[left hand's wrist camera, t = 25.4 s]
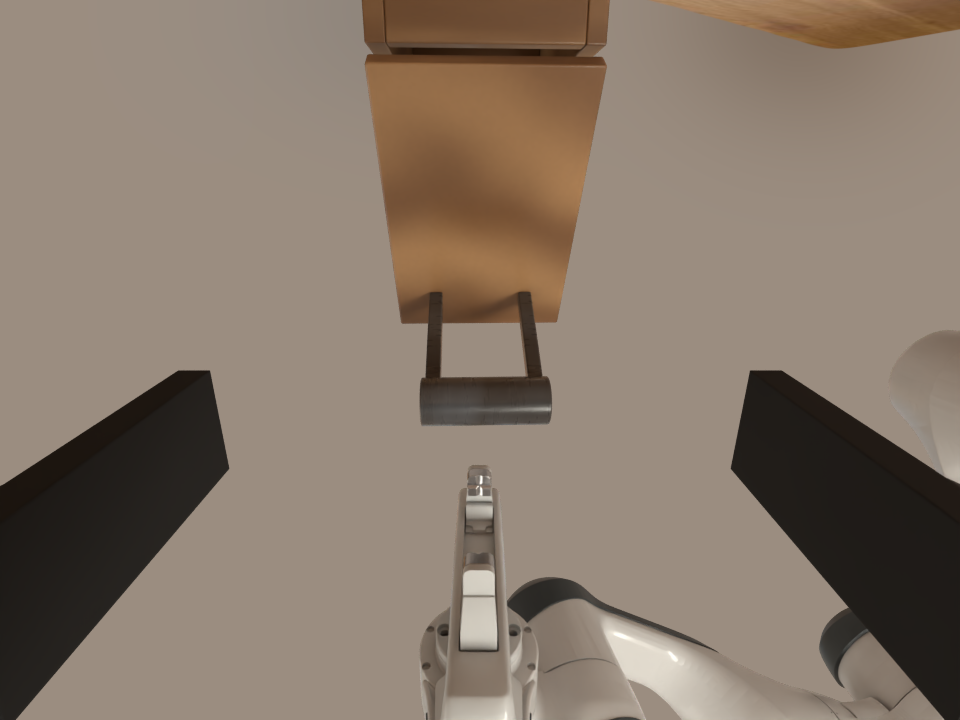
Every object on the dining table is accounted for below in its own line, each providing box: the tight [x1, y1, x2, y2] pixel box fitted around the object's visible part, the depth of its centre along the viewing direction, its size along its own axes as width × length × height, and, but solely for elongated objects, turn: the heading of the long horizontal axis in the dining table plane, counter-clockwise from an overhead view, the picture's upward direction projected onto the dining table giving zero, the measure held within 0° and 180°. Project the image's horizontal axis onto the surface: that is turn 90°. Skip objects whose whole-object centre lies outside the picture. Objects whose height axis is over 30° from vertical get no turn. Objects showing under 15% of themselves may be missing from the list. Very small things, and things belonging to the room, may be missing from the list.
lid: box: [365, 54, 607, 426], centre depth 22 cm, size 14×9×9 cm
